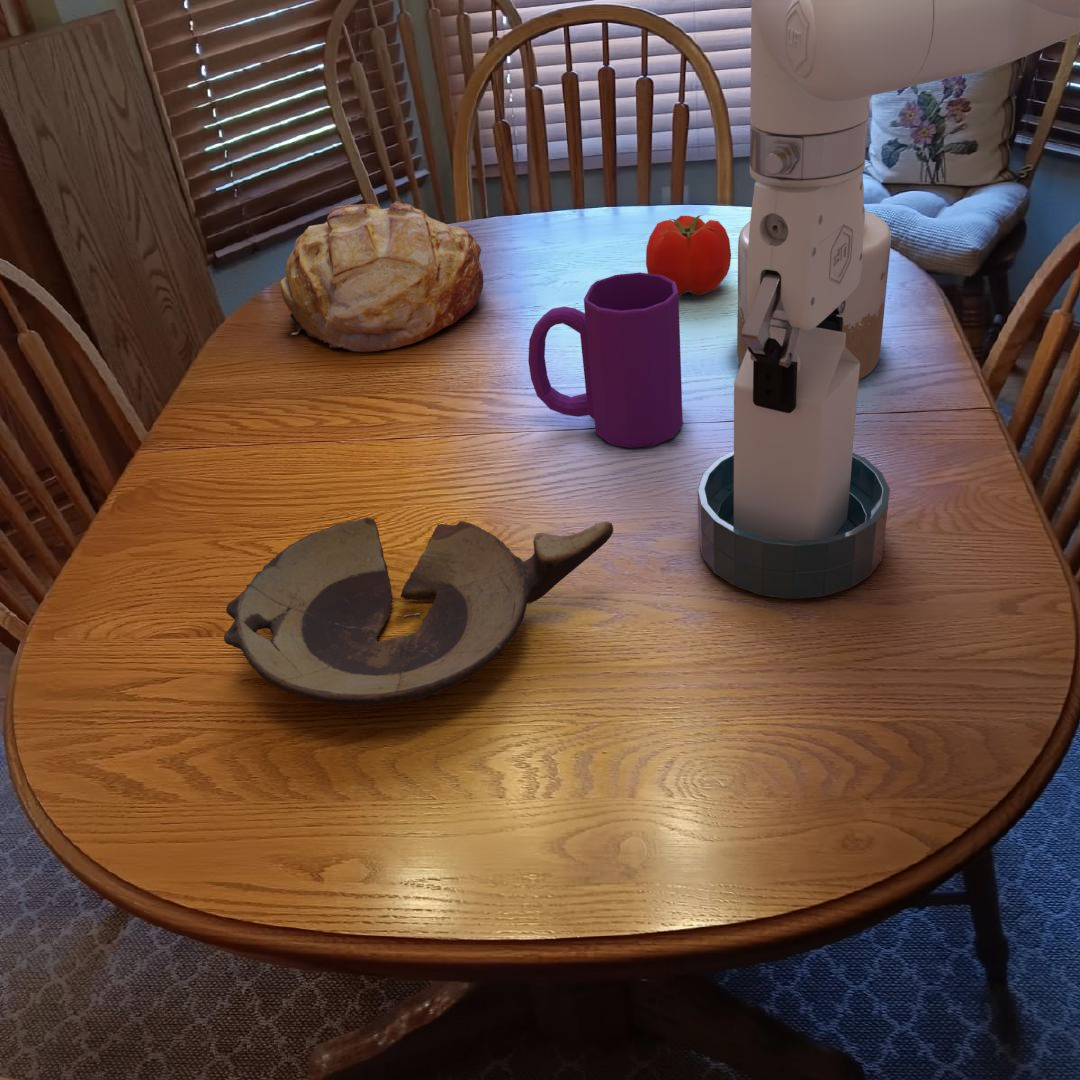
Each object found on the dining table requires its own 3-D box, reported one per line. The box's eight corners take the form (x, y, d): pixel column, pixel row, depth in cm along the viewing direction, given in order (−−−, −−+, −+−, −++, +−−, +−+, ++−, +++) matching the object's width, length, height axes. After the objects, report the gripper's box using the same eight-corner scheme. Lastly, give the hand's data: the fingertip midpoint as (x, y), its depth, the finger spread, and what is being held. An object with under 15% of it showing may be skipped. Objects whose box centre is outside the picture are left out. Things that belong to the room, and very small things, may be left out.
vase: (868, 323, 121) (880, 178, 111) (890, 388, 109) (906, 231, 99) (733, 330, 123) (734, 189, 113) (741, 394, 111) (742, 242, 101)
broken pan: (305, 550, 97) (284, 481, 92) (627, 563, 90) (621, 489, 85) (195, 730, 79) (163, 656, 75) (584, 762, 73) (574, 683, 68)
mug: (675, 453, 103) (670, 312, 94) (525, 446, 107) (506, 310, 98) (689, 406, 110) (685, 271, 101) (547, 401, 114) (532, 271, 105)
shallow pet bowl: (910, 524, 90) (917, 465, 87) (837, 627, 81) (842, 566, 77) (749, 479, 98) (750, 424, 95) (667, 569, 89) (664, 511, 85)
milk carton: (770, 499, 92) (776, 298, 81) (847, 521, 89) (864, 313, 77) (732, 542, 88) (733, 336, 77) (812, 567, 84) (825, 354, 73)
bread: (347, 278, 153) (316, 176, 144) (516, 272, 142) (493, 161, 134) (253, 358, 135) (211, 247, 127) (438, 359, 124) (405, 237, 116)
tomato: (632, 287, 136) (628, 222, 131) (704, 266, 139) (703, 201, 134) (674, 315, 128) (672, 247, 123) (749, 292, 131) (750, 224, 126)
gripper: (803, 197, 62) (793, 450, 73) (911, 114, 73) (888, 345, 83) (693, 184, 66) (698, 426, 77) (810, 108, 77) (800, 329, 87)
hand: (797, 382), depth 80 cm, fingers closed on milk carton, 7 cm apart
